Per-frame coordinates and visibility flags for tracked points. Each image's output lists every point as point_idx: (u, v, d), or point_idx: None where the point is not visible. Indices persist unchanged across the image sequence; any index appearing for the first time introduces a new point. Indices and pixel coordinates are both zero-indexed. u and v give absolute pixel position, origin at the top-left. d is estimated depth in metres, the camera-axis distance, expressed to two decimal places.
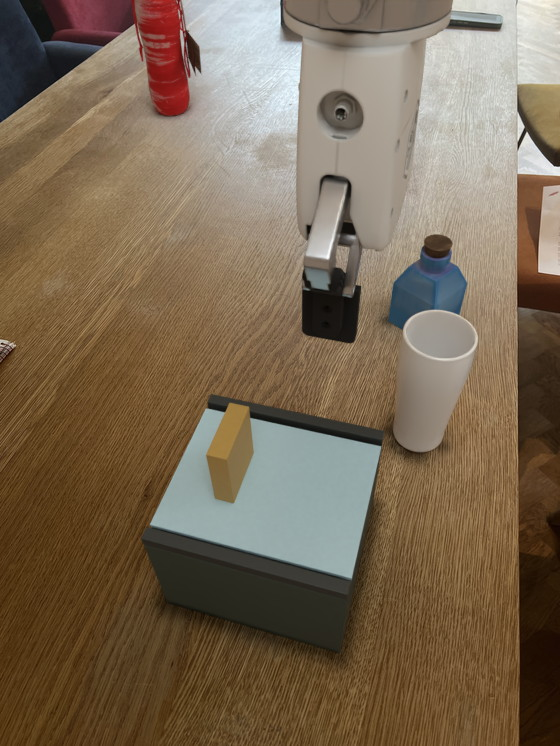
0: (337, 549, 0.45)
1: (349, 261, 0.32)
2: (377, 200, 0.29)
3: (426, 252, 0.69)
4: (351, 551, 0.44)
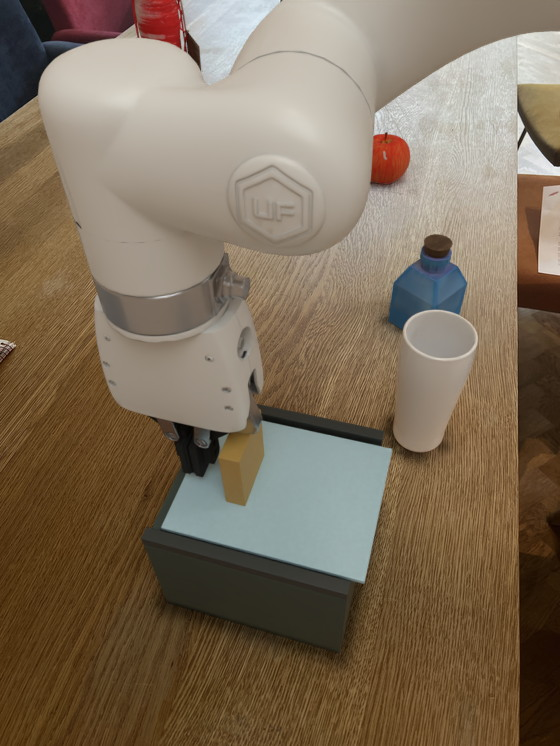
0: (349, 552, 0.44)
1: None
2: (261, 362, 0.41)
3: (426, 252, 0.69)
4: (364, 554, 0.44)
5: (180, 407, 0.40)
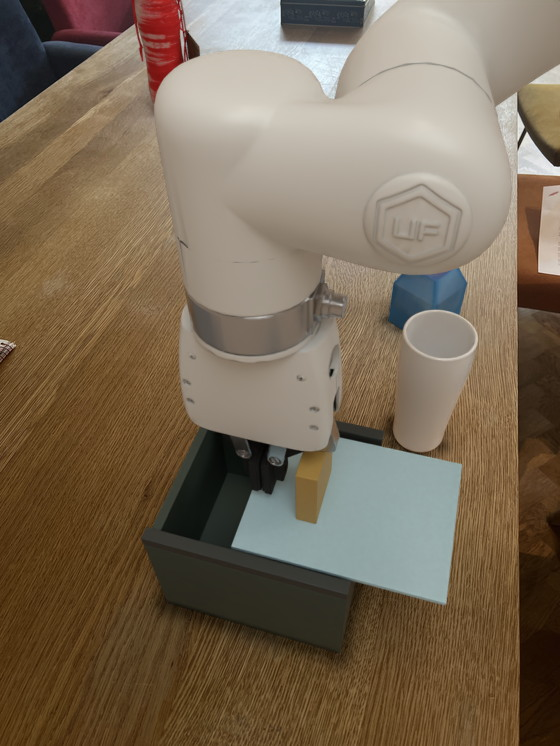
0: (428, 572, 0.43)
1: None
2: None
3: None
4: (443, 574, 0.43)
5: (261, 426, 0.39)
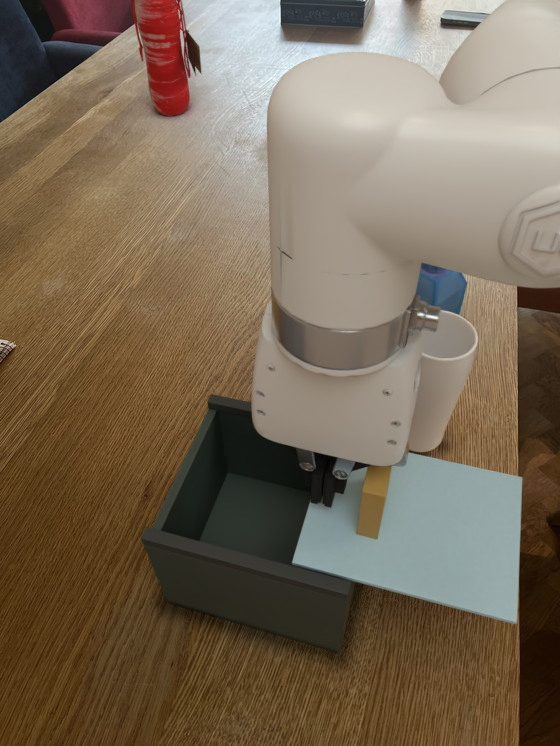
0: (496, 590, 0.42)
1: None
2: None
3: None
4: (511, 592, 0.42)
5: (335, 439, 0.38)
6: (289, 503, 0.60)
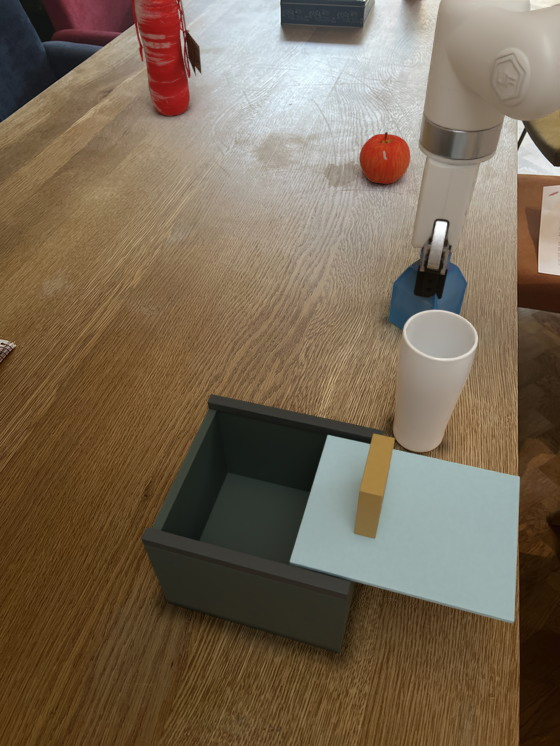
0: (493, 589, 0.42)
1: None
2: None
3: None
4: (509, 591, 0.42)
5: None
6: (289, 503, 0.60)
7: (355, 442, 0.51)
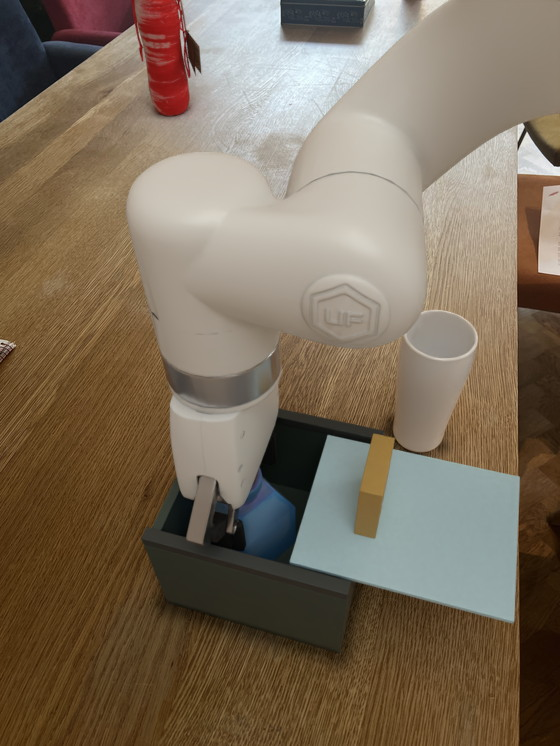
0: (493, 589, 0.42)
1: None
2: None
3: None
4: (509, 591, 0.42)
5: (267, 434, 0.45)
6: None
7: (355, 442, 0.51)
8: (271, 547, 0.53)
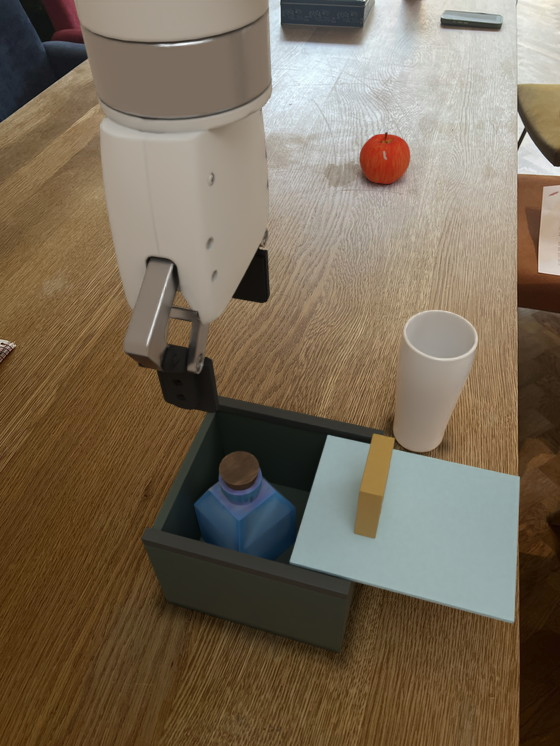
0: (493, 589, 0.42)
1: None
2: None
3: (223, 480, 0.49)
4: (509, 591, 0.42)
5: (252, 231, 0.32)
6: None
7: (355, 442, 0.51)
8: (271, 547, 0.53)
